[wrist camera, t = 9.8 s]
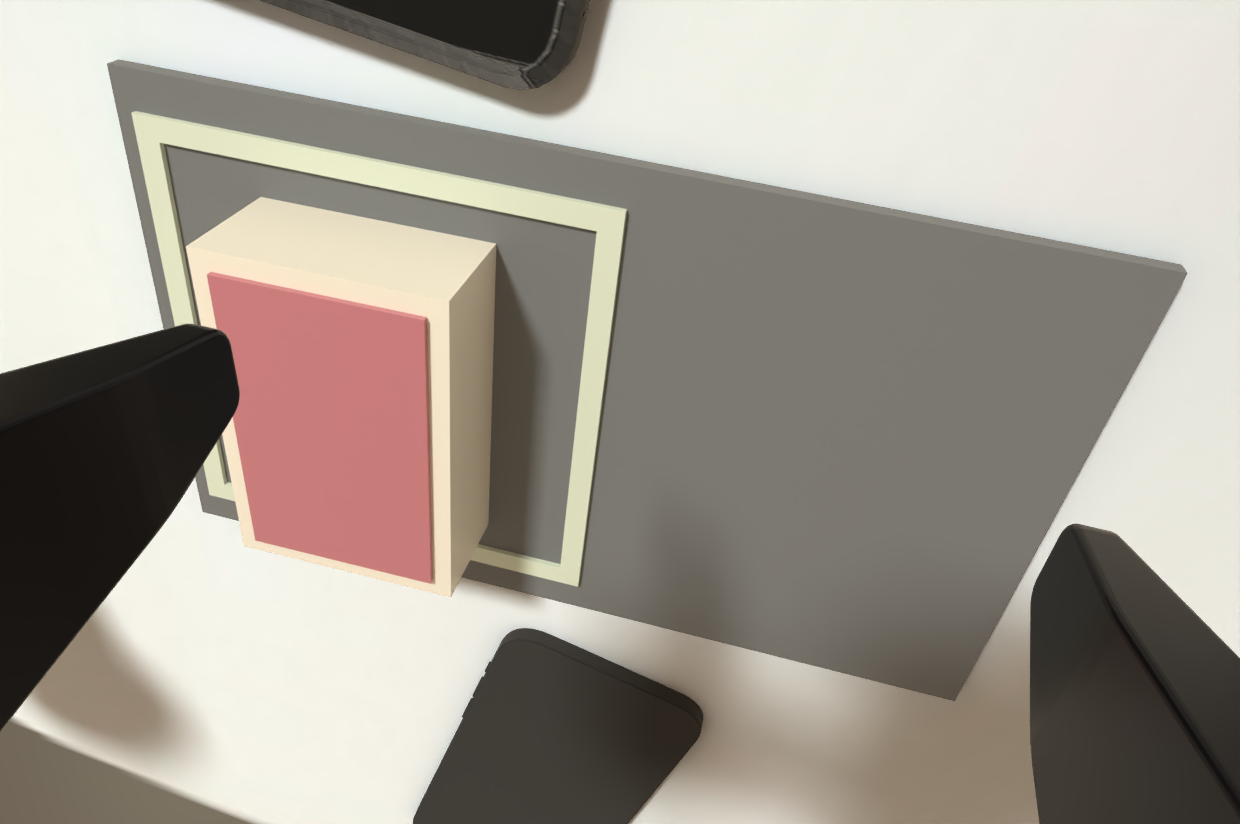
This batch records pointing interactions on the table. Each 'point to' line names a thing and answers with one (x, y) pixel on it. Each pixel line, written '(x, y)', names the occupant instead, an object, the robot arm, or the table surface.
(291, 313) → the card deck
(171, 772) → the table surface
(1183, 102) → the table surface
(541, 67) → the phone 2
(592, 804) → the phone
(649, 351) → the mat
